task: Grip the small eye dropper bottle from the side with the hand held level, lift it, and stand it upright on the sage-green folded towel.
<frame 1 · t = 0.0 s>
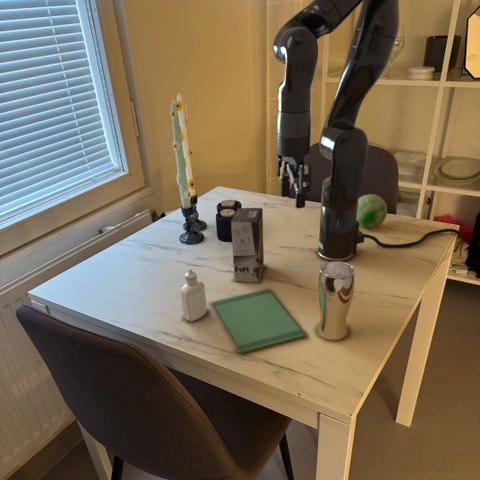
hand: (292, 201, 112), 17 cm above the table, tool pointing down, fingers open, 8 cm apart
eye dropper bottle: (195, 316, 105), on the table
decorative ball: (367, 228, 138), on the table
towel: (256, 319, 102), on the table
beer glass: (332, 332, 97), on the table
coffee box: (249, 273, 119), on the table
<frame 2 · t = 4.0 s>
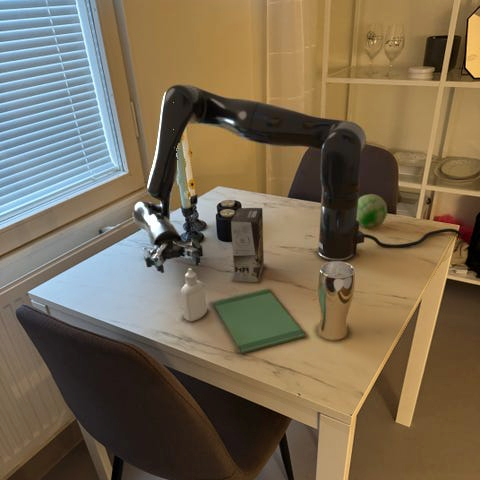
hand: (180, 265, 109), 7 cm above the table, tool horizontal, fingers open, 8 cm apart
nothing on the table moved.
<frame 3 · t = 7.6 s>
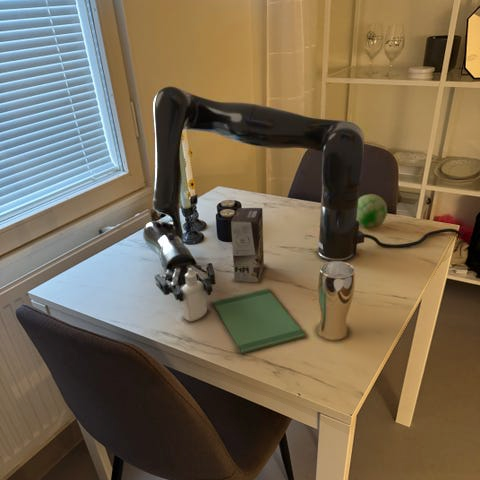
hand: (195, 294, 99), 7 cm above the table, tool horizontal, fingers closed on eye dropper bottle, 5 cm apart
eye dropper bottle: (196, 316, 105), on the table, touching gripper
everything else where it was.
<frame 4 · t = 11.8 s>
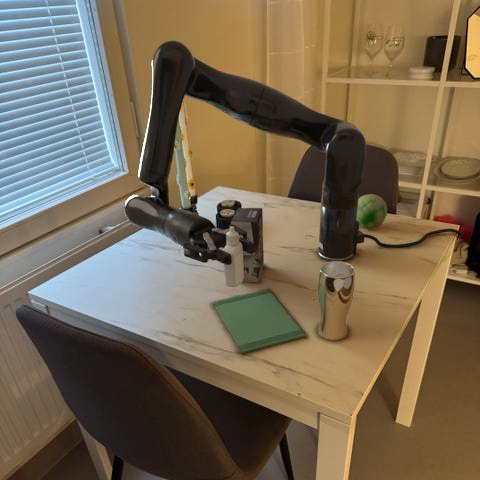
hand: (241, 254, 90), 18 cm above the table, tool horizontal, fingers closed on eye dropper bottle, 5 cm apart
eye dropper bottle: (234, 281, 95), point 10 cm above the table, touching gripper
everything else where it was.
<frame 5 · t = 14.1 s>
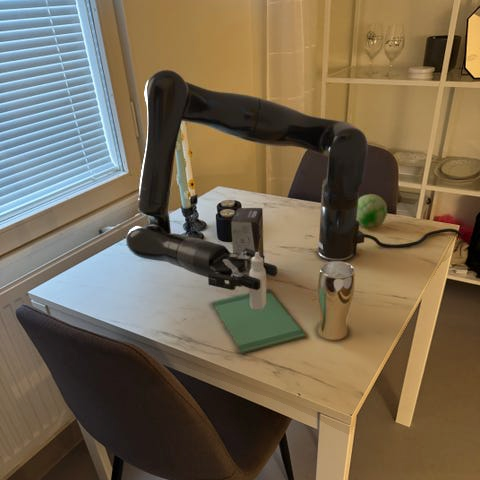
hand: (267, 278, 92), 12 cm above the table, tool horizontal, fingers closed on eye dropper bottle, 5 cm apart
eye dropper bottle: (258, 304, 98), point 5 cm above the table, touching gripper
everything else where it was.
when the fingers open (8 cm above the table, at t = 16.0 s): eye dropper bottle stays where it is, resting on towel.
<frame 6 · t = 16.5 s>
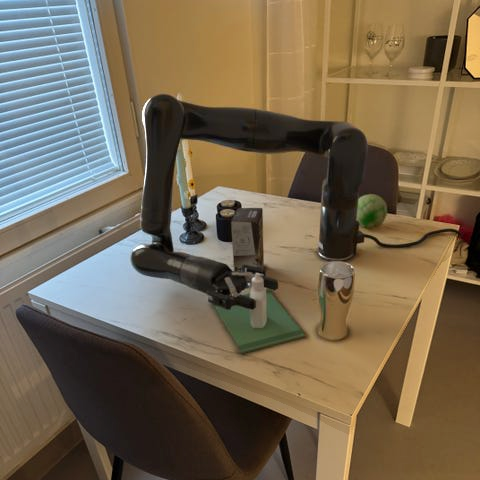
hand: (266, 295, 95), 8 cm above the table, tool horizontal, fingers open, 8 cm apart
eye dropper bottle: (258, 322, 100), resting on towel
everything else where it was.
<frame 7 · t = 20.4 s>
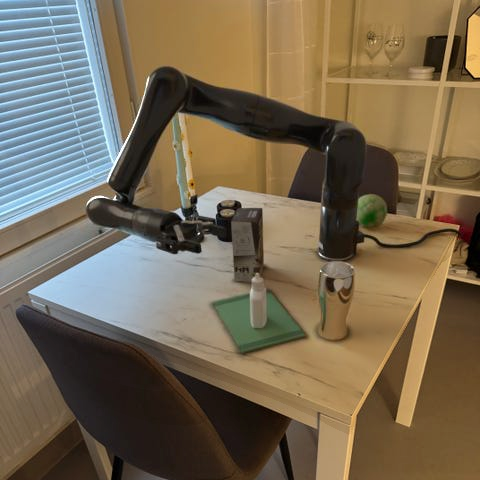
hand: (213, 240, 96), 17 cm above the table, tool horizontal, fingers open, 8 cm apart
nothing on the table moved.
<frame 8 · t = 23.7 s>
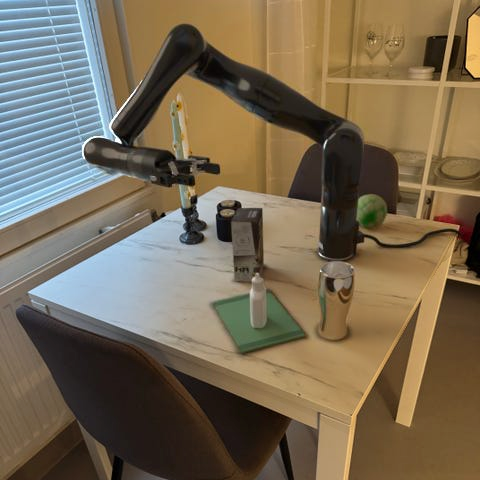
hand: (206, 175, 98), 28 cm above the table, tool horizontal, fingers open, 8 cm apart
nothing on the table moved.
at the end: eye dropper bottle inside the target area on the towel (0.9 cm from its centre), point 0.4 cm above the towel's base; eye dropper bottle tilted 0°; the gripper is holding nothing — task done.
